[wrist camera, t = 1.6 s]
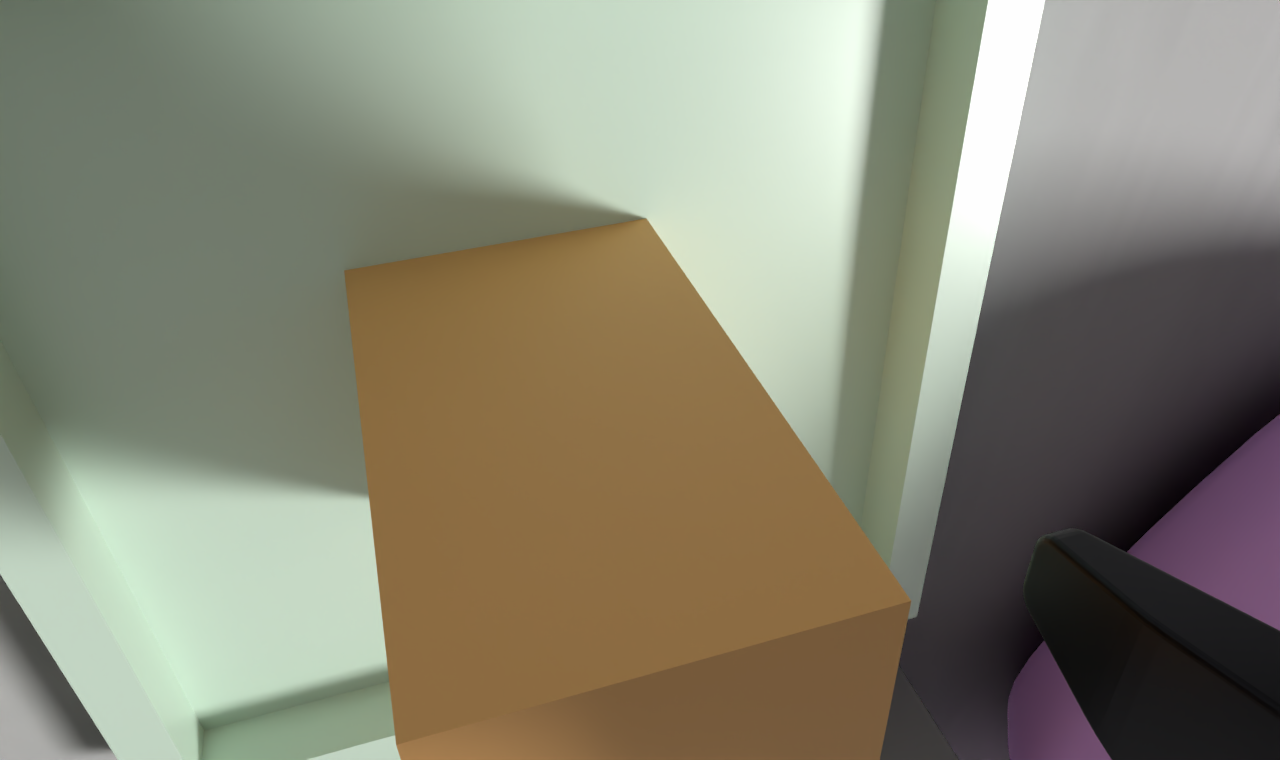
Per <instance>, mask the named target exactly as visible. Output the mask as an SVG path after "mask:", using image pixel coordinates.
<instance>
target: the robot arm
mask: <svg viewBox="0 0 1280 760" xmlns="http://www.w3.org/2000/svg"><path fill="white" fill-rule="evenodd" d="M1023 595H1024V601H1025V604H1026V606H1027V609H1028V611H1029V613H1030V615H1031V617H1032V618H1033V620H1034V622H1035V624H1036V626H1037V628H1038V630H1039V632H1040V633H1041V635H1042V637H1043V639H1044V641H1045V643H1046V645H1047V646H1048V648H1049V650H1050V652H1051V654H1052V656H1053V658H1054V660H1055V661H1056V663H1057V665H1058V667H1059V669H1060V671H1061V673H1062V674H1063V676H1064V678H1065V680H1066V682H1067V684H1068V686H1069V688H1070V689H1071V691H1072V693H1073V695H1074V697H1075V699H1076V701H1077V702H1078V704H1079V706H1080V708H1081V710H1082V712H1083V714H1084V715H1085V717H1086V719H1087V721H1088V722H1089V724H1090V726H1091V728H1092V729H1093V731H1094V733H1095V735H1096V736H1097V738H1098V739H1099V741H1100V742H1101V744H1102V745H1103V747H1104V749H1105V750H1106V752H1107V753H1108V755H1109V756H1110V758H1111V759H1112V760H1280V630H1278V629H1276V628H1274V627H1272V626H1270V625H1268V624H1266V623H1264V622H1262V621H1260V620H1258V619H1256V618H1254V617H1252V616H1251V615H1249V614H1247V613H1245V612H1243V611H1241V610H1239V609H1237V608H1235V607H1233V606H1231V605H1229V604H1227V603H1225V602H1223V601H1221V600H1219V599H1217V598H1215V597H1213V596H1211V595H1209V594H1207V593H1205V592H1203V591H1202V590H1200V589H1198V588H1196V587H1194V586H1192V585H1190V584H1188V583H1186V582H1184V581H1182V580H1180V579H1178V578H1176V577H1174V576H1172V575H1170V574H1168V573H1166V572H1164V571H1162V570H1160V569H1158V568H1156V567H1154V566H1152V565H1151V564H1149V563H1147V562H1145V561H1143V560H1141V559H1139V558H1137V557H1135V556H1133V555H1131V554H1129V553H1127V552H1125V551H1123V550H1121V549H1119V548H1117V547H1115V546H1113V545H1111V544H1109V543H1107V542H1105V541H1103V540H1102V539H1100V538H1098V537H1096V536H1094V535H1092V534H1090V533H1088V532H1086V531H1083V530H1080V529H1076V528H1070V529H1065V530H1061V531H1057V532H1054V533H1050V534H1046V535H1043V536H1042V537H1041V538H1039V539H1038V541H1037V542H1036V545H1035V548H1034V551H1033V554H1032V558H1031V561H1030V564H1029V568H1028V571H1027V574H1026V578H1025V581H1024V585H1023Z"/></svg>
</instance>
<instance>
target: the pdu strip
mask: <svg viewBox="0 0 1280 760" xmlns="http://www.w3.org/2000/svg"><path fill="white" fill-rule="evenodd" d="M880 760H958V758H957V757H956V755H955V753H954V752H953V750H952V749H951V747H950V745H949V744H948V742H947V741H946V739H945V738H944V736H943V734H942V733H941V731H940V730H939V728H938V727H937V725H936V723H935V722H934V720H933V719H932V717H931V715H930V714H929V712H928V711H927V709H926V708H925V706H924V704H923V703H922V701H921V700H920V698H919V697H918V695H917V693H916V692H915V690H914V689H913V687H912V686H911V684H910V682H909V681H908V679H907V678H906V676H905V674H904V673H903V671H902V670H901V668H900V667H899V665H898V670H897V675H896V680H895V685H894V690H893V695H892V700H891V705H890V710H889V716H888V721H887V726H886V731H885V736H884V741H883V746H882V751H881V756H880Z"/></svg>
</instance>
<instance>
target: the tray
mask: <svg viewBox="0 0 1280 760" xmlns="http://www.w3.org/2000/svg"><path fill="white" fill-rule="evenodd" d="M1044 3H1045V0H0V575H1V576H2V578H3V579H4V581H5V582H6V584H7V586H8V587H9V589H10V590H11V592H12V594H13V595H14V597H15V598H16V600H17V601H18V603H19V605H20V606H21V608H22V609H23V611H24V613H25V614H26V616H27V617H28V619H29V620H30V622H31V624H32V625H33V627H34V628H35V630H36V631H37V633H38V635H39V636H40V638H41V639H42V641H43V643H44V644H45V646H46V647H47V649H48V650H49V652H50V654H51V655H52V657H53V658H54V660H55V661H56V663H57V665H58V666H59V668H60V669H61V671H62V673H63V674H64V676H65V677H66V679H67V680H68V682H69V684H70V685H71V687H72V688H73V690H74V692H75V693H76V695H77V696H78V698H79V699H80V701H81V703H82V704H83V706H84V707H85V709H86V710H87V712H88V714H89V715H90V717H91V718H92V720H93V722H94V723H95V725H96V726H97V728H98V729H99V731H100V733H101V734H102V736H103V737H104V739H105V740H106V742H107V744H108V745H109V747H110V748H111V750H112V752H113V753H114V755H115V756H116V758H117V759H118V760H401V759H400V755H399V752H398V749H397V746H396V739H395V730H394V721H393V712H392V703H391V694H390V685H389V676H388V666H387V657H386V648H385V639H384V630H383V621H382V612H381V602H380V593H379V584H378V575H377V566H376V557H375V548H374V539H373V529H372V520H371V511H370V502H369V493H368V484H367V475H366V466H365V456H364V447H363V438H362V429H361V420H360V411H359V402H358V393H357V383H356V374H355V365H354V356H353V347H352V338H351V329H350V320H349V310H348V301H347V292H346V283H345V274H344V270H350V269H355V268H361V267H367V266H373V265H379V264H384V263H390V262H396V261H402V260H408V259H413V258H419V257H425V256H431V255H437V254H443V253H448V252H454V251H460V250H466V249H472V248H477V247H483V246H489V245H495V244H501V243H506V242H512V241H518V240H524V239H530V238H535V237H541V236H547V235H553V234H559V233H565V232H570V231H576V230H582V229H588V228H594V227H599V226H605V225H611V224H617V223H623V222H628V221H634V220H640V219H646V218H647V220H648V221H649V223H650V224H651V226H652V227H653V229H654V230H655V231H656V233H657V234H658V236H659V237H660V239H661V240H662V242H663V243H664V244H665V246H666V247H667V249H668V250H669V252H670V253H671V255H672V256H673V257H674V259H675V260H676V262H677V263H678V265H679V266H680V268H681V269H682V270H683V272H684V273H685V275H686V276H687V278H688V279H689V280H690V282H691V283H692V285H693V286H694V288H695V289H696V291H697V292H698V293H699V295H700V296H701V298H702V299H703V301H704V302H705V304H706V305H707V306H708V308H709V309H710V311H711V312H712V314H713V315H714V317H715V318H716V319H717V321H718V322H719V324H720V325H721V327H722V328H723V330H724V331H725V332H726V334H727V335H728V337H729V338H730V340H731V341H732V343H733V344H734V345H735V347H736V348H737V350H738V351H739V353H740V354H741V356H742V357H743V358H744V360H745V361H746V363H747V364H748V366H749V367H750V369H751V370H752V371H753V373H754V374H755V376H756V377H757V379H758V380H759V382H760V383H761V384H762V386H763V387H764V389H765V390H766V392H767V393H768V395H769V396H770V397H771V399H772V400H773V402H774V403H775V405H776V406H777V408H778V409H779V410H780V412H781V413H782V415H783V416H784V418H785V419H786V421H787V422H788V423H789V425H790V426H791V428H792V429H793V431H794V432H795V434H796V435H797V436H798V438H799V439H800V441H801V442H802V444H803V445H804V447H805V448H806V449H807V451H808V452H809V454H810V455H811V457H812V458H813V460H814V461H815V462H816V464H817V465H818V467H819V468H820V470H821V471H822V473H823V474H824V475H825V477H826V478H827V480H828V481H829V483H830V484H831V486H832V487H833V488H834V490H835V491H836V493H837V494H838V496H839V497H840V499H841V500H842V501H843V503H844V504H845V506H846V507H847V509H848V510H849V512H850V513H851V514H852V516H853V517H854V519H855V520H856V522H857V523H858V525H859V526H860V527H861V529H862V530H863V532H864V533H865V535H866V536H867V538H868V539H869V540H870V542H871V543H872V545H873V546H874V548H875V549H876V551H877V552H878V553H879V555H880V556H881V558H882V559H883V561H884V562H885V564H886V565H887V566H888V568H889V569H890V571H891V572H892V574H893V575H894V577H895V578H896V579H897V581H898V582H899V584H900V585H901V587H902V588H903V590H904V591H905V592H906V594H907V595H908V597H909V598H910V600H911V605H910V610H909V615H908V619H911V618H915V617H917V614H918V609H919V604H920V600H921V595H922V590H923V585H924V580H925V575H926V571H927V566H928V561H929V556H930V551H931V547H932V542H933V537H934V532H935V527H936V523H937V518H938V513H939V508H940V503H941V498H942V494H943V489H944V484H945V479H946V474H947V470H948V465H949V460H950V455H951V450H952V446H953V441H954V436H955V431H956V426H957V421H958V417H959V412H960V407H961V402H962V397H963V393H964V388H965V383H966V378H967V373H968V369H969V364H970V359H971V354H972V349H973V344H974V340H975V335H976V330H977V325H978V320H979V316H980V311H981V306H982V301H983V296H984V292H985V287H986V282H987V277H988V272H989V267H990V263H991V258H992V253H993V248H994V243H995V239H996V234H997V229H998V224H999V219H1000V215H1001V210H1002V205H1003V200H1004V195H1005V190H1006V186H1007V181H1008V176H1009V171H1010V166H1011V162H1012V157H1013V152H1014V147H1015V142H1016V138H1017V133H1018V128H1019V123H1020V118H1021V113H1022V109H1023V104H1024V99H1025V94H1026V89H1027V85H1028V80H1029V75H1030V70H1031V65H1032V61H1033V56H1034V51H1035V46H1036V41H1037V36H1038V32H1039V27H1040V22H1041V17H1042V12H1043V8H1044Z"/></svg>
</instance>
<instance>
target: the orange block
mask: <svg viewBox="0 0 1280 760" xmlns="http://www.w3.org/2000/svg"><path fill="white" fill-rule="evenodd" d="M344 274H345V283H346V292H347V301H348V310H349V320H350V329H351V338H352V347H353V356H354V365H355V374H356V383H357V393H358V402H359V411H360V420H361V429H362V438H363V447H364V456H365V466H366V475H367V484H368V493H369V502H370V511H371V520H372V529H373V539H374V548H375V557H376V566H377V575H378V584H379V593H380V602H381V612H382V621H383V630H384V639H385V648H386V657H387V666H388V676H389V685H390V694H391V703H392V712H393V721H394V730H395V739H396V746H397V749H398V752H399V755H400V759H401V760H880V756H881V751H882V746H883V741H884V736H885V731H886V726H887V721H888V716H889V710H890V705H891V700H892V695H893V690H894V685H895V680H896V675H897V670H898V665H899V660H900V655H901V650H902V645H903V640H904V635H905V630H906V625H907V620H908V615H909V610H910V605H911V600H910V598H909V597H908V595H907V594H906V592H905V591H904V590H903V588H902V587H901V585H900V584H899V582H898V581H897V579H896V578H895V577H894V575H893V574H892V572H891V571H890V569H889V568H888V566H887V565H886V564H885V562H884V561H883V559H882V558H881V556H880V555H879V553H878V552H877V551H876V549H875V548H874V546H873V545H872V543H871V542H870V540H869V539H868V538H867V536H866V535H865V533H864V532H863V530H862V529H861V527H860V526H859V525H858V523H857V522H856V520H855V519H854V517H853V516H852V514H851V513H850V512H849V510H848V509H847V507H846V506H845V504H844V503H843V501H842V500H841V499H840V497H839V496H838V494H837V493H836V491H835V490H834V488H833V487H832V486H831V484H830V483H829V481H828V480H827V478H826V477H825V475H824V474H823V473H822V471H821V470H820V468H819V467H818V465H817V464H816V462H815V461H814V460H813V458H812V457H811V455H810V454H809V452H808V451H807V449H806V448H805V447H804V445H803V444H802V442H801V441H800V439H799V438H798V436H797V435H796V434H795V432H794V431H793V429H792V428H791V426H790V425H789V423H788V422H787V421H786V419H785V418H784V416H783V415H782V413H781V412H780V410H779V409H778V408H777V406H776V405H775V403H774V402H773V400H772V399H771V397H770V396H769V395H768V393H767V392H766V390H765V389H764V387H763V386H762V384H761V383H760V382H759V380H758V379H757V377H756V376H755V374H754V373H753V371H752V370H751V369H750V367H749V366H748V364H747V363H746V361H745V360H744V358H743V357H742V356H741V354H740V353H739V351H738V350H737V348H736V347H735V345H734V344H733V343H732V341H731V340H730V338H729V337H728V335H727V334H726V332H725V331H724V330H723V328H722V327H721V325H720V324H719V322H718V321H717V319H716V318H715V317H714V315H713V314H712V312H711V311H710V309H709V308H708V306H707V305H706V304H705V302H704V301H703V299H702V298H701V296H700V295H699V293H698V292H697V291H696V289H695V288H694V286H693V285H692V283H691V282H690V280H689V279H688V278H687V276H686V275H685V273H684V272H683V270H682V269H681V268H680V266H679V265H678V263H677V262H676V260H675V259H674V257H673V256H672V255H671V253H670V252H669V250H668V249H667V247H666V246H665V244H664V243H663V242H662V240H661V239H660V237H659V236H658V234H657V233H656V231H655V230H654V229H653V227H652V226H651V224H650V223H649V221H648V220H647V218H646V219H640V220H634V221H628V222H623V223H617V224H611V225H605V226H599V227H594V228H588V229H582V230H576V231H570V232H565V233H559V234H553V235H547V236H541V237H535V238H530V239H524V240H518V241H512V242H506V243H501V244H495V245H489V246H483V247H477V248H472V249H466V250H460V251H454V252H448V253H443V254H437V255H431V256H425V257H419V258H413V259H408V260H402V261H396V262H390V263H384V264H379V265H373V266H367V267H361V268H355V269H350V270H344Z"/></svg>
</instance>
